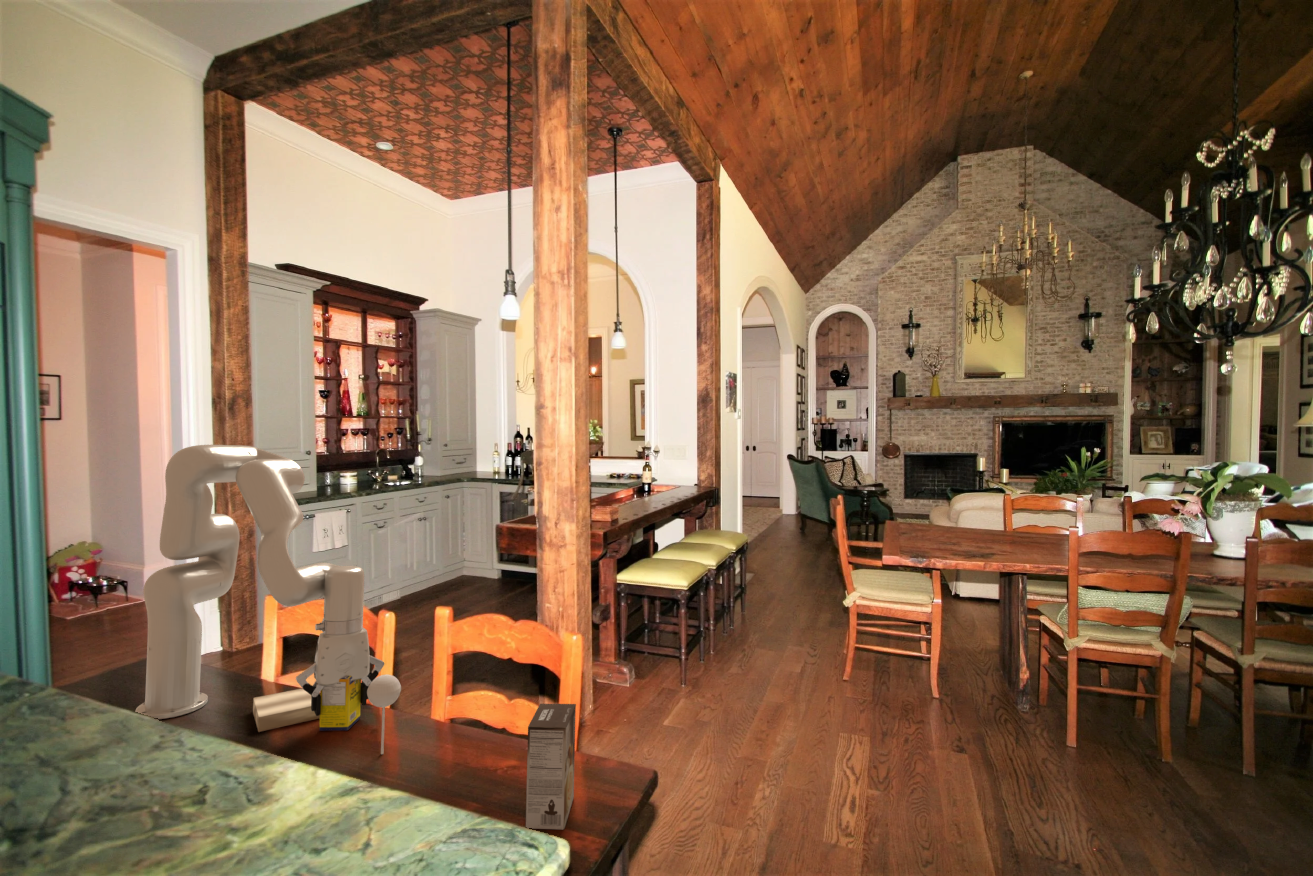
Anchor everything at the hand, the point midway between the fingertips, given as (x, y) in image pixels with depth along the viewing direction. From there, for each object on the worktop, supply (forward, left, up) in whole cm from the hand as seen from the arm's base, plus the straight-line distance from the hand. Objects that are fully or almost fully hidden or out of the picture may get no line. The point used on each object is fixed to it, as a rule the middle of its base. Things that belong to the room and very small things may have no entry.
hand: (340, 708), depth 129 cm
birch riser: (-12, -8, -4) cm, 15 cm away
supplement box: (0, 0, -4) cm, 4 cm away
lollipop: (+18, +4, -4) cm, 19 cm away
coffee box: (+54, +21, -4) cm, 58 cm away
